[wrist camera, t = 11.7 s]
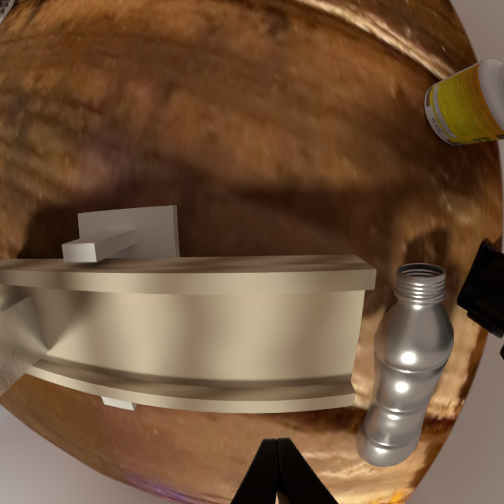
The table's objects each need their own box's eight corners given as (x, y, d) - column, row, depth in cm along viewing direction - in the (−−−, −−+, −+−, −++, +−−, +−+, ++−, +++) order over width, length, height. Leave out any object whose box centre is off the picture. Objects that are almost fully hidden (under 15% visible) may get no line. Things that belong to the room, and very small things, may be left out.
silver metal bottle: (367, 424, 25) (387, 255, 21) (419, 436, 20) (464, 260, 16) (342, 464, 20) (362, 280, 16) (401, 480, 16) (467, 290, 12)
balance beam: (339, 244, 18) (376, 269, 12) (330, 352, 20) (352, 405, 14) (5, 252, 19) (-38, 267, 12) (24, 330, 20) (-12, 356, 14)
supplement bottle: (443, 157, 17) (536, 148, 7) (409, 97, 16) (493, 54, 6) (475, 133, 17) (556, 120, 7) (445, 79, 16) (520, 44, 6)
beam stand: (176, 205, 19) (138, 211, 12) (194, 374, 21) (177, 429, 15) (84, 212, 19) (29, 222, 12) (112, 366, 22) (80, 409, 15)
